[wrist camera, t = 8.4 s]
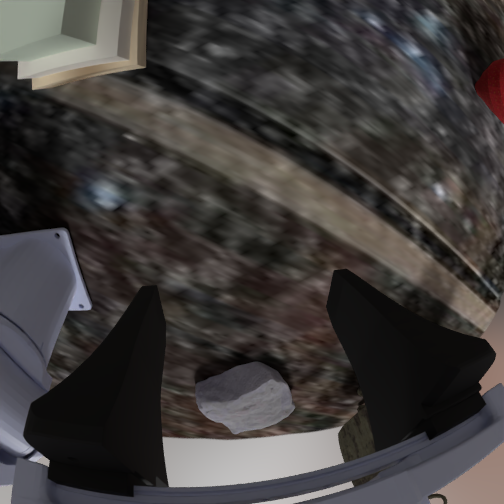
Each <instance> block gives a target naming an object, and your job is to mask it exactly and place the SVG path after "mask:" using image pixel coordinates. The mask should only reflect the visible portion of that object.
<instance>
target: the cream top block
mask: <svg viewBox="0 0 504 504" xmlns="http://www.w3.org/2000/svg"><path fill="white" fill-rule="evenodd" d="M134 4H135V0H101V6H100V13H99V21H98V30H97V40H96V45H93V46H88V47H83V48H78V49H74V50H69V51H65V52H61V53H57V54H54V55H50V56H46V57H43V58H40V59H36V60H33V61H18V79H27V78H40V77H44V76H47V75H51V74H55V73H59V72H64V71H68V70H73V69H77V68H82V67H88V66H93V65H99V64H105V63H112V62H119V61H128V60H129V58H130V43H131V31H132V21H133V12H134Z"/></svg>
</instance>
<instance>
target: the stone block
mask: <svg viewBox="0 0 504 504" xmlns="http://www.w3.org/2000/svg"><path fill="white" fill-rule="evenodd" d="M196 400H197V404H198V407H199V410H200V411H201V412H202V413H203V414H204V415H205V416H206V417H207V418H209V419H211V420H212V421H215V422H221V423H223V424H224V425H225V426H227V427H228V428H229V429H230V430H231V432H232V433H234V434H238V433H239V432H242V431H248V430H255V429H262V428H264V427H268V426H270V425H273V424H276V423H278V422H279V421H281V420H282V419H284V418H285V417H287V416H289V414H290V413H292V412H293V410H294V408H295V405H294V402H293V400H292V395H291V392H290V389H289V387H288V384H287V383H286V382H285V381H284V380H283V378H282V377H281V375H280V374H279V372H278V371H277V370H275V369H273V368H271V367H269V366H267V365H265V364H264V363H261V362H257V361H256V362H251V363H248V364H244V365H239V366H236V367H234V368H232V369H230V370H228V371H225V372H224V373H222V374H219V375H217V376H213V377H210V378H208V379H207V380H204V381H201V382H198V383H197V384H196Z"/></svg>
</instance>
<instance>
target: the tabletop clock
mask: <svg viewBox="0 0 504 504" xmlns="http://www.w3.org/2000/svg"><path fill="white" fill-rule="evenodd" d="M357 393H358V395H359V396H363V395H362V391H361V388H360V387H359V388H358V391H357ZM357 410H358V413H357V414H356V415H355V416H353V417H352V418H351V419H350V420H349V421H348V422H347V423H346V424H345V425H344V426H343V427H342V428H341V430H340V432H339V433H338V438H339V445H340V449H341V453H342V456H343V459H344V462H345V463H346V462H349V461H352V460H355V459H358V458H361V457H364V456H367V455H370V454H373V453H375V446H374V440H373V435H372V429H371V425H370V420H369V416H368V412H367V408H366V405H360V406H359V407H358V409H357ZM390 467H391V466H390ZM388 468H389V467H388ZM386 469H387V468H386ZM383 470H385V469H383ZM383 470H381V471H383ZM381 471H378V472H375V473H373V474H370V475H367V476H365V477H362V478H359V479H356V480H353V481H352V483H353V485H354V487H356V486H359V485H362V484H365V483H367V482H368V481H370V480H372V479H373V478H374V477H376V476H377V475H378V473H379V472H381ZM432 498H442V499H443V501H444V504H447V499H446V497H445V496H443V495H441V494H431V495H429V496H428V499H432Z"/></svg>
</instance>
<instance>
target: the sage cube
mask: <svg viewBox="0 0 504 504" xmlns="http://www.w3.org/2000/svg"><path fill="white" fill-rule="evenodd" d="M100 6H101V0H0V61H33V60H36V59H40V58H43V57H46V56H50V55H54V54H57V53H61V52H65V51H69V50H74V49H78V48H83V47H88V46H93V45H96V40H97V30H98V21H99V13H100Z"/></svg>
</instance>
